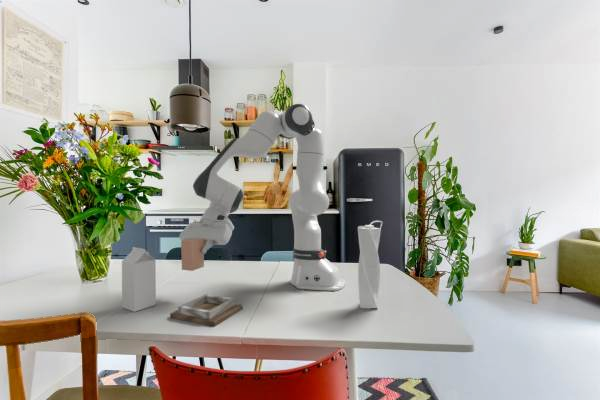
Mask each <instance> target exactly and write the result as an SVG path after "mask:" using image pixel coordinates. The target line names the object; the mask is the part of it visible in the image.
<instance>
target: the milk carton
mask: <svg viewBox="0 0 600 400" xmlns="http://www.w3.org/2000/svg"><path fill="white" fill-rule="evenodd" d="M156 271H157V270H156V259H155V258H154V257H153V256H151V255H150V252H148V251H147V250H146V249H145V248H142V247H135V246H133V247H132V250H130V252H129V253H128V254H127V255H126V257H124V258H123V259H122V261H121V303H122V305H121V308H122V309H125V310H128V311H131V312H138V311H142V310H144V309H148V308H150V307H154V306H156V305H157V303H156V302H157V298H156V297H157V293H156V290H157V289H156V286H157V285H156V284H157V283H156V281H157V280H156V278H157V277H156V273H157V272H156Z"/></svg>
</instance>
